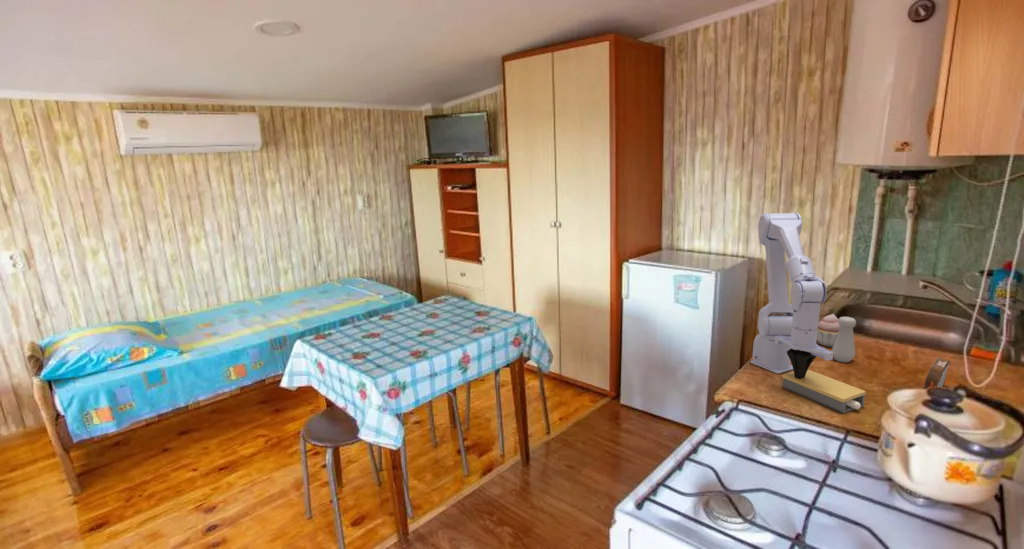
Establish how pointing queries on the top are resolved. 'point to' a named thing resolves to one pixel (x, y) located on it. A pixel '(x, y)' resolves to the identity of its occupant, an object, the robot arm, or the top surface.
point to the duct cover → (826, 386)
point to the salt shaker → (844, 340)
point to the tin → (937, 373)
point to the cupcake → (828, 330)
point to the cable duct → (824, 398)
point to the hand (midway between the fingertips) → (799, 377)
